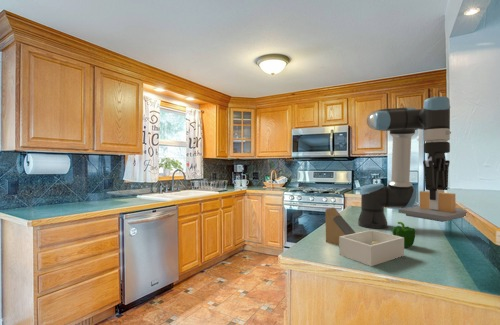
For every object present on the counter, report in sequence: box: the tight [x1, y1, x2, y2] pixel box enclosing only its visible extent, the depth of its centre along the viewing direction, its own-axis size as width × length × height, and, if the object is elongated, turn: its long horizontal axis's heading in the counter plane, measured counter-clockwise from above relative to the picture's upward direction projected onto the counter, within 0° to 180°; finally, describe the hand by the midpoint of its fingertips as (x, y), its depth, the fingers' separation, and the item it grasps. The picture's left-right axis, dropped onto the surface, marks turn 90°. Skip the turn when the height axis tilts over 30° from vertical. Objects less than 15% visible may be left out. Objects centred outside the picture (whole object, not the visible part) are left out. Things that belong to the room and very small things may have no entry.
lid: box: [397, 190, 467, 223], centre depth 95 cm, size 21×15×8 cm
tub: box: [338, 229, 405, 267], centre depth 105 cm, size 20×14×7 cm
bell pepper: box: [391, 221, 416, 248], centre depth 116 cm, size 8×8×10 cm
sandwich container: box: [325, 207, 356, 246], centre depth 120 cm, size 9×15×15 cm, turn 47°
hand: (436, 208), depth 95 cm, fingers closed on lid, 3 cm apart
